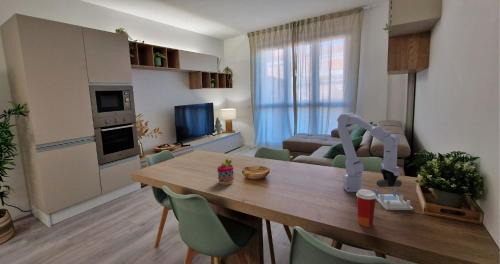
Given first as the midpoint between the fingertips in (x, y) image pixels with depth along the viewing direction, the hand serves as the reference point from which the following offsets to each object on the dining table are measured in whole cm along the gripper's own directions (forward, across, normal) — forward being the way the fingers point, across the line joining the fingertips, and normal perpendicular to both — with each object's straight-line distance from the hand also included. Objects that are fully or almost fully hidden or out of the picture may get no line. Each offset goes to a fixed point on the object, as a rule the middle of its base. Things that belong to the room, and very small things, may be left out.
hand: (389, 184), depth 121 cm
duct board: (+8, -3, 0) cm, 9 cm away
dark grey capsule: (+1, 0, 0) cm, 1 cm away
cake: (+8, +28, +89) cm, 94 cm away
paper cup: (+8, -22, +20) cm, 31 cm away
